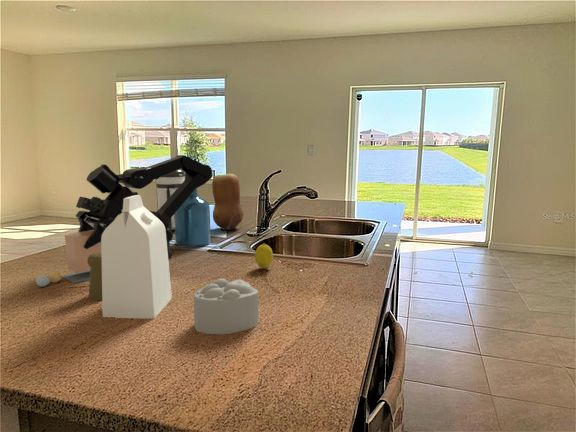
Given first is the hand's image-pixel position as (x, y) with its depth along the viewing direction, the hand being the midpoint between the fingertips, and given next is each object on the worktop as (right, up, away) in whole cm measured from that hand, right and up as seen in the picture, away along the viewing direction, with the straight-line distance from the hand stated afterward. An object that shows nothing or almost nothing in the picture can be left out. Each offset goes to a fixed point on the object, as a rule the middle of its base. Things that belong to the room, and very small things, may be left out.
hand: (80, 246), depth 114 cm
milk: (+24, -13, -20) cm, 34 cm away
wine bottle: (+23, -2, +40) cm, 46 cm away
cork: (+12, -12, -13) cm, 21 cm away
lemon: (+52, -8, +9) cm, 53 cm away
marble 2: (-5, -10, -3) cm, 11 cm away
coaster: (+1, -9, +3) cm, 9 cm away
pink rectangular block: (+1, -6, +2) cm, 7 cm away
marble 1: (-6, -10, -7) cm, 14 cm away
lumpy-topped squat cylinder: (+46, -15, -28) cm, 56 cm away
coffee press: (+9, +2, +66) cm, 66 cm away
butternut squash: (+32, +2, +67) cm, 74 cm away
